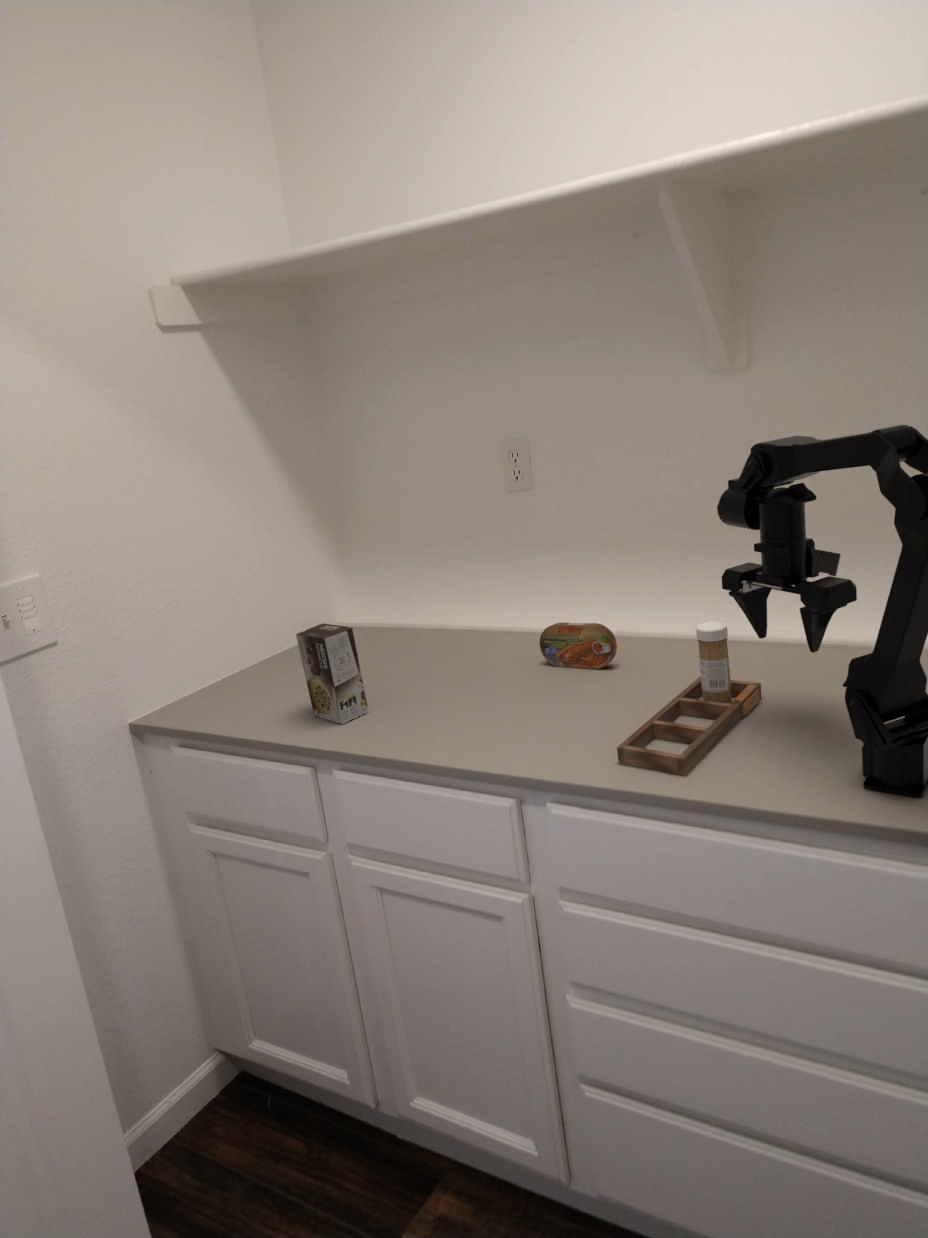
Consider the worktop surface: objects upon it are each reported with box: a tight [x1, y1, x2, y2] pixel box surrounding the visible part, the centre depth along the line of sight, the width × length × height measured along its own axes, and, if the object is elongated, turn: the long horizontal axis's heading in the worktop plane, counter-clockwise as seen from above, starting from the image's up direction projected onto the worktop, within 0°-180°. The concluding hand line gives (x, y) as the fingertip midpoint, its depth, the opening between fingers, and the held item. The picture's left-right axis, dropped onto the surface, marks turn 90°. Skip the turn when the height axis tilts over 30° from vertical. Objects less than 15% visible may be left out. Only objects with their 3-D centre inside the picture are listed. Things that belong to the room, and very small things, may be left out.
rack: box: [616, 676, 762, 777], centre depth 126 cm, size 10×28×3 cm, turn 141°
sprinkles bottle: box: [695, 621, 734, 704], centre depth 131 cm, size 5×5×14 cm
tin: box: [539, 622, 618, 670], centre depth 158 cm, size 15×3×8 cm, turn 56°
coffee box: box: [295, 623, 369, 725], centre depth 152 cm, size 9×6×16 cm
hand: (787, 644), depth 117 cm, fingers open, 9 cm apart
